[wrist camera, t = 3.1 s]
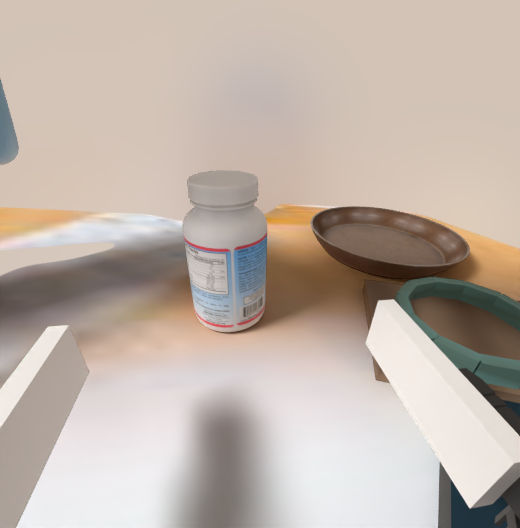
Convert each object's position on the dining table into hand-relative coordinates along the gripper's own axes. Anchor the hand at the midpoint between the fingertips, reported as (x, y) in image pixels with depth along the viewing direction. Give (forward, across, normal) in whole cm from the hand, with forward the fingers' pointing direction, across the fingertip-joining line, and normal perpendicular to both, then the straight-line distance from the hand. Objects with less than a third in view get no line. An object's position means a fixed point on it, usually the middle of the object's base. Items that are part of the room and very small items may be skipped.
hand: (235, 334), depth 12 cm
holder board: (+4, +17, -6) cm, 19 cm away
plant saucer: (+20, +19, -7) cm, 28 cm away
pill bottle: (+10, 0, -7) cm, 12 cm away
